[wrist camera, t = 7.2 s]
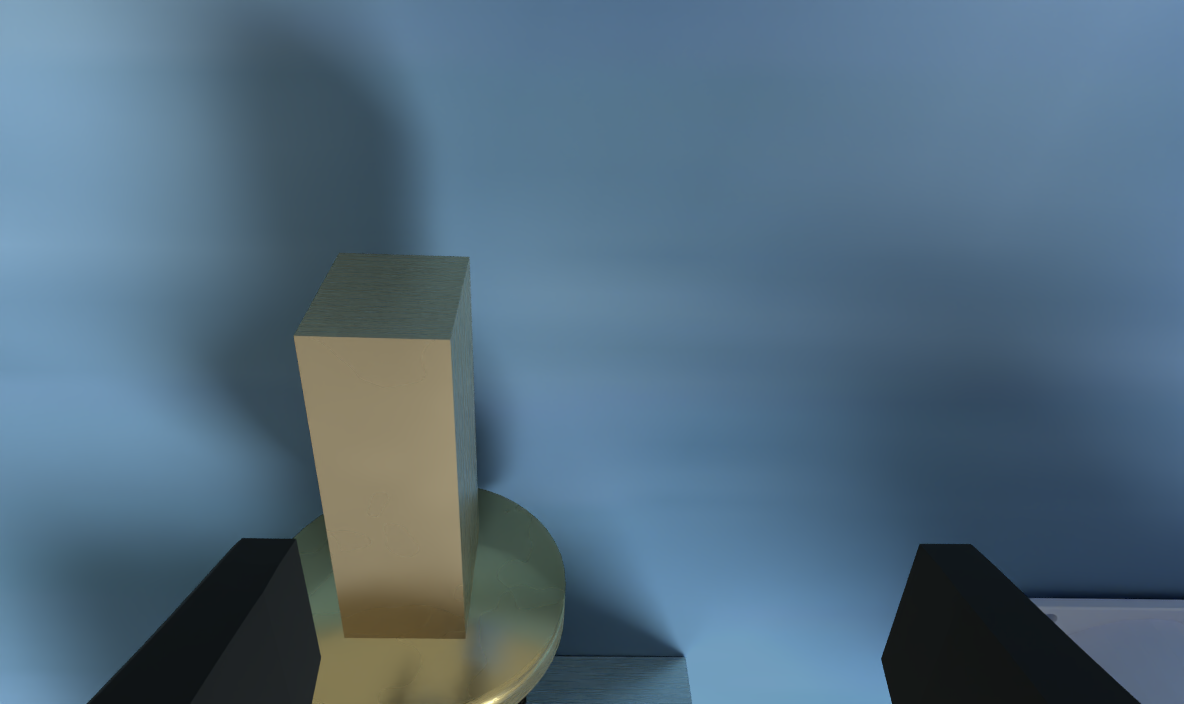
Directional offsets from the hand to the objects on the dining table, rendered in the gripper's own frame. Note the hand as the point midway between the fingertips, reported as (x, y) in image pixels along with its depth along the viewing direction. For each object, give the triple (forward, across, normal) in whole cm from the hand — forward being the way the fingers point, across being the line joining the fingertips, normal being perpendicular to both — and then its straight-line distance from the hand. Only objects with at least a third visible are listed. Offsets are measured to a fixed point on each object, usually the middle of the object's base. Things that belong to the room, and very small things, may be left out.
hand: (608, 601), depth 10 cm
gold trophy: (+9, +4, +6) cm, 11 cm away
